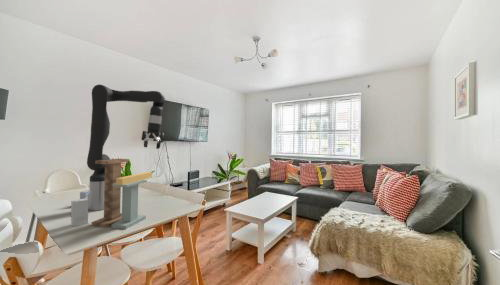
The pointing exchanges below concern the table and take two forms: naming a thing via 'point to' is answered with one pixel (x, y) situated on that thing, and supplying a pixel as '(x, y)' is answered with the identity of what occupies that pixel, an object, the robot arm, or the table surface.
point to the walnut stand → (111, 193)
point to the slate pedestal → (129, 205)
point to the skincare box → (79, 212)
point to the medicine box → (84, 195)
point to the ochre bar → (133, 178)
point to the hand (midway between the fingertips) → (151, 148)
